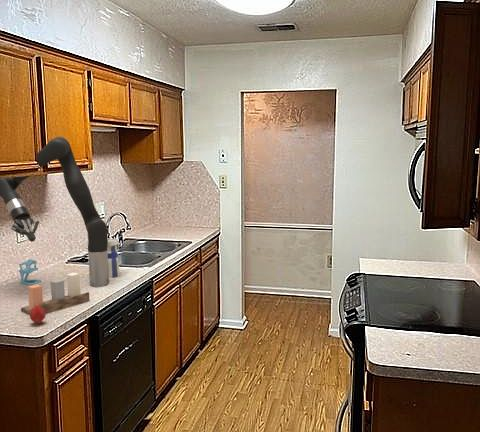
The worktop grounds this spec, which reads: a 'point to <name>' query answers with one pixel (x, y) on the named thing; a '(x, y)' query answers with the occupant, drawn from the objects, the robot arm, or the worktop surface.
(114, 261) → the water bottle
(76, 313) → the worktop surface
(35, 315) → the onion
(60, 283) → the grey rectangular block
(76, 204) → the robot arm
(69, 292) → the cream rectangular block
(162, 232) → the worktop surface
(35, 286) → the orange block
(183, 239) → the worktop surface
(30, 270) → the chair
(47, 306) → the wooden divided tray
